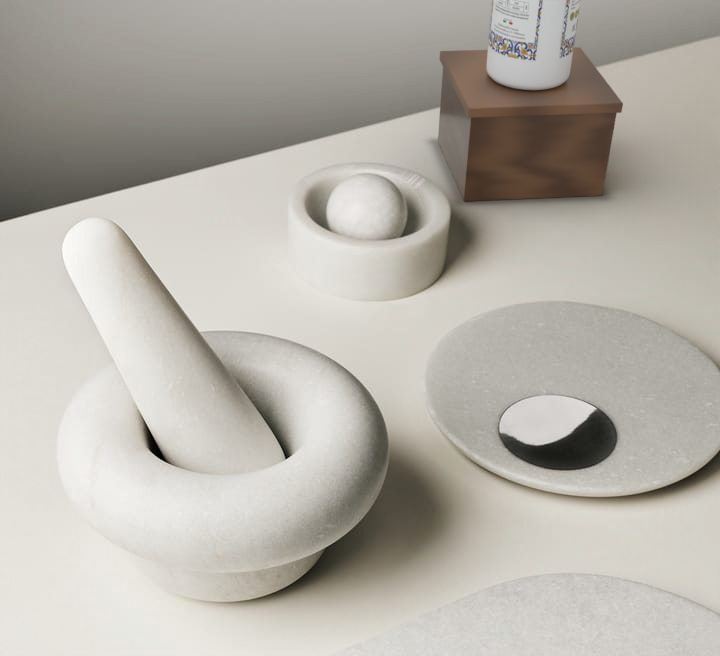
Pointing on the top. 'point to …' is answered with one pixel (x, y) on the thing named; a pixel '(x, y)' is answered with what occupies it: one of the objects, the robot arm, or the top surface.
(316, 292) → the top surface
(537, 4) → the bath foam
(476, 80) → the walnut box
